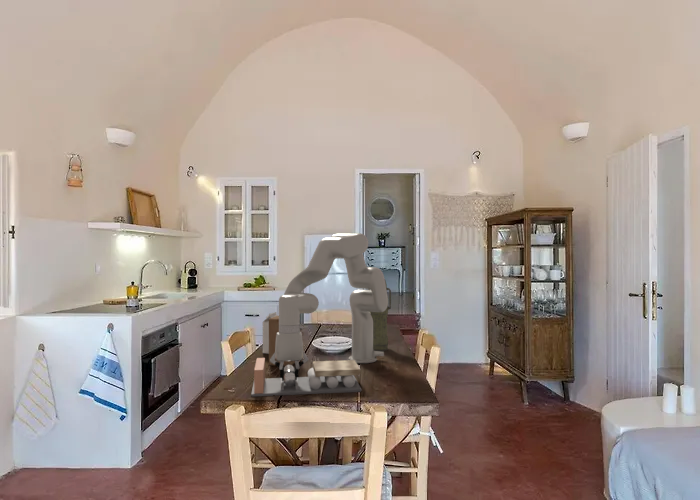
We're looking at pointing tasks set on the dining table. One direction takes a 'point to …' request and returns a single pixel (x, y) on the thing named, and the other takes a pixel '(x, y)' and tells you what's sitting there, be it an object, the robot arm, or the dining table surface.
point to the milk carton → (267, 332)
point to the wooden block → (272, 339)
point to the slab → (335, 368)
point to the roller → (289, 375)
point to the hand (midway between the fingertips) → (289, 379)
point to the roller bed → (301, 383)
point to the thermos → (380, 327)
